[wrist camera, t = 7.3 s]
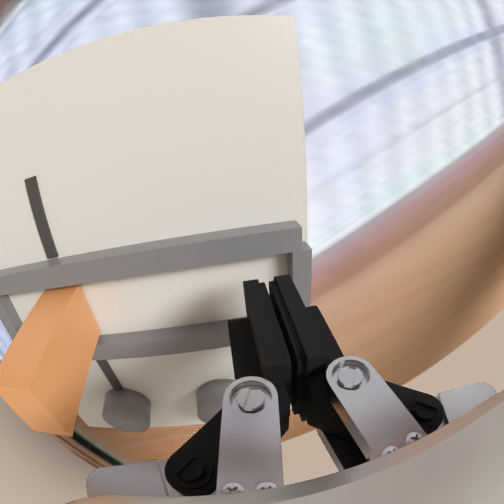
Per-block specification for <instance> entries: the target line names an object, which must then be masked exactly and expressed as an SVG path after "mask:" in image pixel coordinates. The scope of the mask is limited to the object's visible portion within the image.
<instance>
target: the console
mask: <svg viewBox="0 0 504 504" xmlns="http://www.w3.org/2000/svg"><path fill="white" fill-rule="evenodd" d="M311 262H312V249H311V248H310V246H309V245H308V244H307V181H306V153H305V132H304V115H303V100H302V87H301V75H300V64H299V53H298V44H297V35H296V26H295V18H294V16H274V15H241V16H221V17H208V18H199V19H190V20H183V21H176V22H170V23H164V24H159V25H154V26H149V27H144V28H140V29H135V30H131V31H127V32H123V33H120V34H116V35H113V36H109V37H106V38H102V39H99V40H96V41H93V42H90V43H87V44H84V45H82V46H79V47H76V48H73V49H71V50H68V51H66V52H63V53H61V54H58V55H56V56H54V57H51V58H49V59H47V60H45V61H43V62H40V63H38V64H36V65H34V66H32V67H30V68H28V69H26V70H24V71H22V72H20V73H18V74H17V75H15V76H13V77H11V78H9V79H8V80H6V81H4V82H2V83H1V84H0V319H1V321H2V323H3V325H4V326H5V328H6V330H7V331H8V333H9V335H10V336H11V338H12V340H14V338H15V336H16V334H17V333H18V331H19V329H20V328H21V326H22V324H23V323H24V321H25V319H26V318H27V316H28V315H29V313H30V311H31V310H32V308H33V307H34V305H35V304H36V302H37V301H38V299H39V298H40V296H41V295H42V293H43V292H44V290H45V289H52V288H59V287H66V286H73V285H81V288H82V290H83V293H84V295H85V297H86V300H87V302H88V304H89V307H90V309H91V311H92V313H93V316H94V318H95V320H96V322H97V324H98V326H99V328H100V330H101V333H100V336H99V339H98V342H97V345H96V348H95V351H94V354H93V357H92V361H91V364H90V368H89V371H88V374H87V378H86V382H85V385H84V389H83V393H82V397H81V401H80V405H79V409H78V413H77V414H78V416H79V417H80V418H81V419H82V420H83V421H84V422H85V423H86V424H87V425H88V426H89V427H106V428H117V429H120V430H123V431H127V432H142V431H145V430H147V429H148V428H155V427H174V426H187V425H198V424H206V423H207V422H208V421H209V420H210V419H211V418H212V417H213V416H214V415H215V414H216V413H218V412H219V411H220V410H221V409H222V407H223V396H224V393H225V390H226V389H227V387H228V386H229V385H230V384H231V383H233V382H234V381H235V376H234V369H233V361H232V354H231V346H230V339H229V331H228V323H227V320H232V319H239V318H246V317H247V314H246V306H245V297H244V289H243V281H248V280H254V279H258V280H259V283H262V282H265V285H266V288H267V291H268V293H269V281H274V276H281V275H287V274H289V275H290V276H291V278H292V280H293V282H294V284H295V286H296V288H297V290H298V292H299V295H300V297H301V299H302V301H303V303H304V305H305V307H310V296H311ZM290 409H292V407H291V404H290Z"/></svg>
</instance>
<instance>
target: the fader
mask: <svg viewBox="0 0 504 504" xmlns="http://www.w3.org/2000/svg"><path fill="white" fill-rule="evenodd" d="M100 333H101V330H100V328H99V326H98V324H97V322H96V320H95V318H94V316H93V313H92V311H91V309H90V307H89V304H88V302H87V300H86V297H85V295H84V293H83V290H82V288H81V285H73V286H66V287H59V288H52V289H45V290H44V292H43V293H42V295H41V296H40V298H39V299H38V301H37V302H36V304H35V305H34V307H33V308H32V310H31V311H30V313H29V315H28V316H27V318H26V319H25V321H24V323H23V324H22V326H21V328H20V329H19V331H18V333H17V334H16V336H15V338H14V340H13V341H12V343H11V345H10V347H9V349H8V350H7V352H6V354H5V356H4V358H3V360H2V362H1V364H0V396H1V397H2V398H3V399H4V400H5V402H6V403H7V404H8V405H9V406H10V407H11V408H12V409H13V410H14V411H15V413H16V414H17V415H19V417H20V418H21V419H22V420H23V421H24V422H25V423H26V424H27V425H28V426H29V427H30V428H31V429H32V430H34V431H37V432H42V433H48V434H55V435H62V436H69V437H73V432H74V427H75V422H76V418H77V413H78V409H79V405H80V401H81V397H82V393H83V389H84V385H85V382H86V378H87V374H88V371H89V368H90V364H91V361H92V357H93V354H94V351H95V348H96V345H97V342H98V339H99V336H100Z"/></svg>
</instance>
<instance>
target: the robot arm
mask: <svg viewBox="0 0 504 504" xmlns="http://www.w3.org/2000/svg"><path fill="white" fill-rule="evenodd" d="M243 289H244V297H245V306H246V314H247V317H246V318H239V319H232V320H227V323H228V331H229V339H230V346H231V354H232V361H233V369H234V376H235V381H234V382H233V383H231V384H230V385H229V386H228V387H227V389H226V390H225V393H224V396H223V407H222V409H221V410H220V411H219V412H218V413H216V414H215V415H214V416H213V417H212V418H211V419H210V420H209V421H208V422H207V423H206V424H205V425H204V426H203V427H202V428H201V429H200V430H199V431H198V432H197V433H196V434H195V435H194V436H192V437H191V438H190V439H189V440H188V441H187V442H186V443H185V444H184V445H183V446H182V447H180V448H179V449H178V450H177V451H176V452H175V453H174V454H173V455H172V456H171V457H170V458H169V459H166V460H162V461H157V460H156V459H154V460H149V461H144V462H138V463H132V464H126V465H118V466H111V467H102V468H98V469H96V470H94V471H92V472H91V473H90V474H89V476H88V478H87V484H86V487H87V494H88V498H83V499H78V500H74V501H72V502H69V503H66V504H504V390H503V391H501V392H499V393H496V391H495V389H494V388H493V387H492V386H491V385H490V384H488V383H485V382H479V383H475V384H472V385H468V386H465V387H461V388H458V389H454V390H450V391H446V392H442V393H439V394H438V395H437V396H436V397H434V396H432V395H429V394H426V393H422V392H419V391H416V390H412V389H409V388H406V387H403V386H400V385H396V384H393V383H390V382H387V381H384V380H383V379H382V377H381V376H380V375H379V374H378V372H377V371H376V370H375V369H374V367H373V366H372V365H371V364H370V363H369V362H368V361H366V360H364V359H362V358H360V357H355V356H344V355H343V354H342V352H341V350H340V348H339V346H338V344H337V342H336V340H335V338H334V336H333V334H332V333H331V331H330V329H329V327H328V325H327V323H326V321H325V319H324V318H323V316H322V314H321V312H320V310H319V308H318V307H317V306H310V307H305V305H304V303H303V301H302V299H301V297H300V295H299V292H298V290H297V288H296V286H295V284H294V282H293V280H292V278H291V276H290V275H289V274H287V275H281V276H274V281H269V293H268V291H267V288H266V285H265V282H262V283H259V280H258V279H254V280H248V281H243ZM290 404H291V407H292V410H293V413H294V415H296V414H300V417H301V421H306V420H307V423H308V424H309V425H311V426H313V427H315V428H316V429H317V432H318V435H319V436H320V438H321V440H322V442H323V444H324V445H325V447H326V449H327V451H328V452H329V454H330V456H331V458H332V459H333V461H334V463H335V465H336V467H337V468H338V470H339V472H336V473H333V474H330V475H326V476H323V477H319V478H316V479H311V480H307V481H303V482H299V483H295V484H290V485H285V486H284V484H283V467H282V452H281V451H282V450H281V438H282V436H283V435H284V434H285V432H286V431H287V430H288V429H289V416H290Z"/></svg>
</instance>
